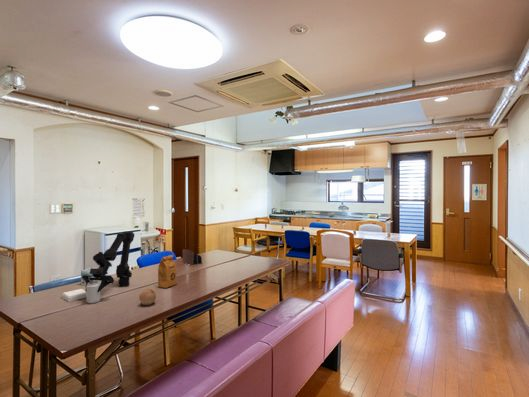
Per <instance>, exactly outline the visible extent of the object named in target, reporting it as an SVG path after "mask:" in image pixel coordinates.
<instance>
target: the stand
mask: <svg viewBox="0 0 529 397" xmlns="http://www.w3.org/2000/svg"><path fill="white" fill-rule="evenodd" d="M85 290H86V289H84V288H79V289H78V288H77V289H74V290H69V291H65V292H62V294H61V298H62V299H63V300H65V301H66V302H73V301H77V300H80V299H81V300H82V299H85V298H86V299H87V295H86V291H85Z"/></svg>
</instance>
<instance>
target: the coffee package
mask: <svg viewBox="0 0 529 397" xmlns="http://www.w3.org/2000/svg"><path fill="white" fill-rule="evenodd" d="M173 258H174V255H173V254H170V255H168V256H163V257H161V259H160V261H159V263H158V267H157V281H158V282H157V284H158V285H157V286H158V288H164V289H167V288H170V287H173V286H176V285H177V283H178V278H177V273H178V272H177V266H176V264H175V262H174V259H173Z"/></svg>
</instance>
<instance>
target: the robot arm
mask: <svg viewBox="0 0 529 397" xmlns="http://www.w3.org/2000/svg"><path fill="white" fill-rule="evenodd" d="M134 238H135V233H134V231H123V232H121V233H120V232H119V233H117V234H116V237H115V239H114V240H113V242H112V244H111V245H110V247H109V248H108V249H106V250H105V251H104V252H103V251H99V252H98V253H96V254H94V255H93V257H92V260H93V261H94V262H95V264H97V266H98V267H90V268H91V269H90V273H89V274H92V275H93V276H94V277H91V276H90V275H83V276H82V278H81V277H80V280H81V279H82V280H83V281H84V282H86V286H87V285H88V283H89V282H92V281H93V280H97V281H99V282H100V286H99V288H98V291H97V292H99V291H100V292H101V291H102V290H103V289H104V288H106V287H107V286H109V285H110V284H114V282H115V278H113V276H112V275H108V270H109V269H110V267H111V268H112V266H113V264H112V262H114V261H115V260H116V258H117V256H118V250H119V248H120V247H121V245H122V247H121V248H122V250H121V256H120V262H119V265H117V266H116V270H115V275H116V278H118V287H120V288H122V287H129V286H130V285H131V284H130V278H132V276H133V273H132V271H131V270H130V265H129V256H130V250H131V249H130V248H131V244H132V242H133V241H134ZM86 286H85V287H86ZM84 290H85V291H86V289H84Z"/></svg>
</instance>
